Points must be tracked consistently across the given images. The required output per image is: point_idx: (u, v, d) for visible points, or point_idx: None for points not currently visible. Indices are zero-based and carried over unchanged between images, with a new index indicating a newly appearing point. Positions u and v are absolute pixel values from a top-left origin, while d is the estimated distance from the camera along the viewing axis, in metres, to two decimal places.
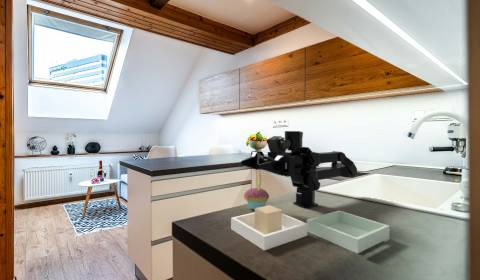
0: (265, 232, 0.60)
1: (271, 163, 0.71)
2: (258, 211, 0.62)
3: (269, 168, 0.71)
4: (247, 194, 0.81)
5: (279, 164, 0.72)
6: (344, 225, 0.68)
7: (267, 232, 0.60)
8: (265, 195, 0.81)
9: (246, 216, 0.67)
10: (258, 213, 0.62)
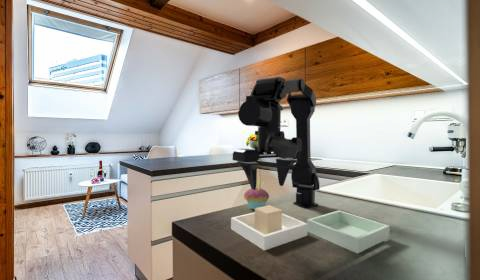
0: (265, 232, 0.60)
1: None
2: (258, 211, 0.62)
3: None
4: (247, 194, 0.81)
5: None
6: (344, 225, 0.68)
7: (267, 232, 0.60)
8: (265, 195, 0.81)
9: (246, 216, 0.67)
10: (258, 213, 0.62)
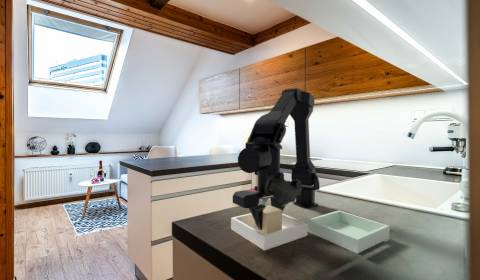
0: (265, 232, 0.60)
1: None
2: None
3: None
4: None
5: None
6: (344, 225, 0.68)
7: (267, 232, 0.60)
8: None
9: (246, 216, 0.67)
10: None
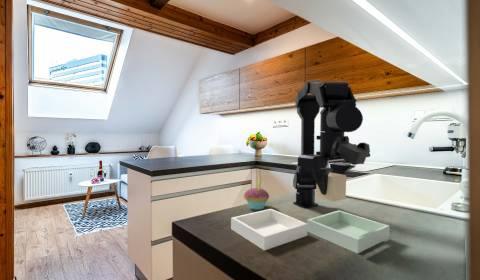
0: (331, 196, 0.59)
1: None
2: None
3: None
4: (247, 194, 0.81)
5: None
6: (344, 225, 0.68)
7: (333, 196, 0.58)
8: (265, 195, 0.81)
9: (246, 216, 0.67)
10: None
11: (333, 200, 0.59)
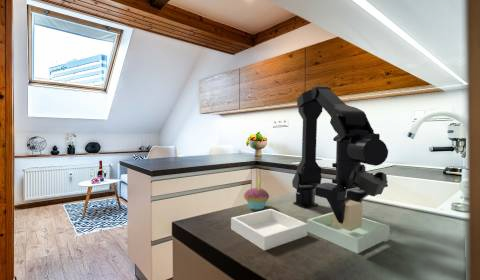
0: (348, 225, 0.59)
1: None
2: None
3: None
4: (247, 194, 0.81)
5: None
6: None
7: (350, 225, 0.59)
8: (265, 195, 0.81)
9: (246, 216, 0.67)
10: None
11: (351, 229, 0.59)
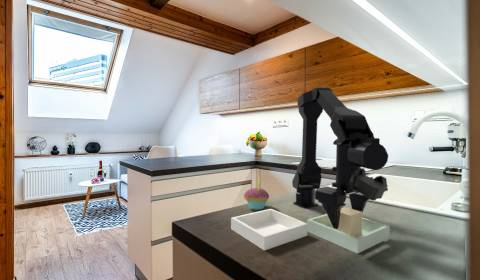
0: None
1: None
2: None
3: None
4: (247, 194, 0.81)
5: None
6: None
7: None
8: (265, 195, 0.81)
9: (246, 216, 0.67)
10: None
11: None
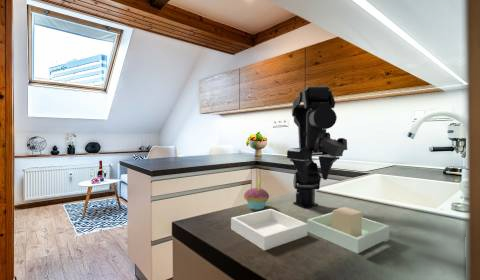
0: None
1: None
2: (337, 213, 0.61)
3: None
4: (247, 194, 0.81)
5: None
6: None
7: None
8: (265, 195, 0.81)
9: (246, 216, 0.67)
10: (338, 215, 0.61)
11: None
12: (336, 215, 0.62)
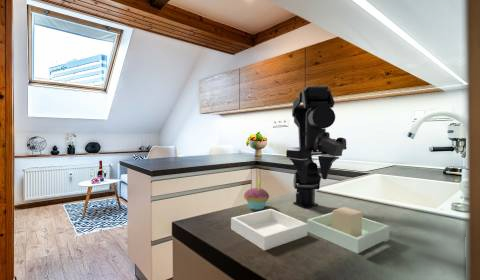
0: None
1: None
2: (337, 213, 0.61)
3: None
4: (247, 194, 0.81)
5: None
6: None
7: None
8: (265, 195, 0.81)
9: (246, 216, 0.67)
10: (338, 215, 0.61)
11: None
12: (336, 215, 0.62)
